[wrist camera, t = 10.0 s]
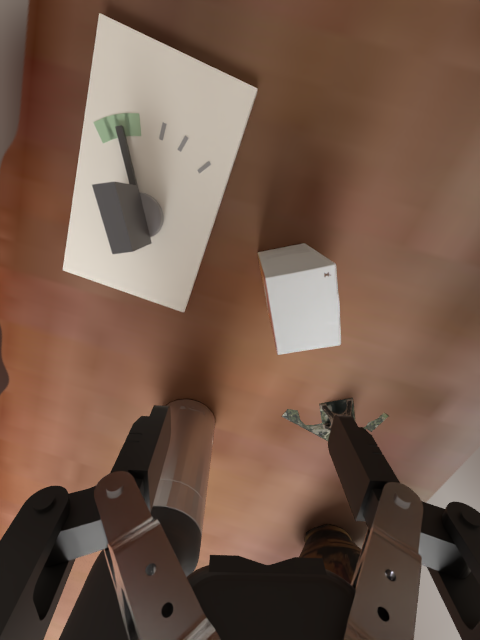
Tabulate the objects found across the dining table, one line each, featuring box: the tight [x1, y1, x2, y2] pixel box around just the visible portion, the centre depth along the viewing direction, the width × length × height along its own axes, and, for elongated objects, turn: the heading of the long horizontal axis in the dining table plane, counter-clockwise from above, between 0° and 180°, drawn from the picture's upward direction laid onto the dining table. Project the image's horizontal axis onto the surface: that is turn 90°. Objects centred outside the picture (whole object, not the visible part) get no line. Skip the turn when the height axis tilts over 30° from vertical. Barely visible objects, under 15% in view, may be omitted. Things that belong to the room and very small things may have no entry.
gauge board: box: [63, 13, 257, 312], centre depth 33 cm, size 26×16×2 cm, turn 159°
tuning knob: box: [92, 125, 164, 254], centre depth 28 cm, size 12×5×8 cm, turn 7°
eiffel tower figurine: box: [282, 398, 388, 441], centre depth 41 cm, size 15×10×13 cm
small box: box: [257, 243, 341, 355], centre depth 31 cm, size 8×6×13 cm
